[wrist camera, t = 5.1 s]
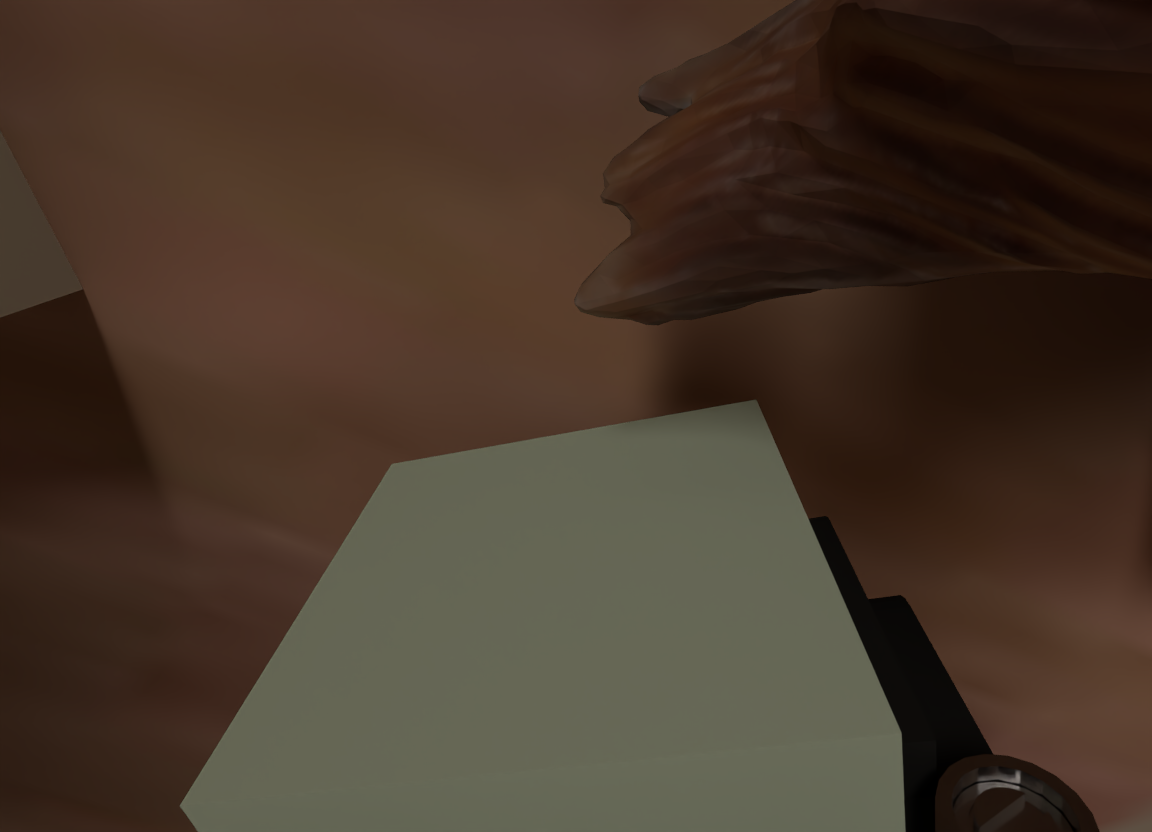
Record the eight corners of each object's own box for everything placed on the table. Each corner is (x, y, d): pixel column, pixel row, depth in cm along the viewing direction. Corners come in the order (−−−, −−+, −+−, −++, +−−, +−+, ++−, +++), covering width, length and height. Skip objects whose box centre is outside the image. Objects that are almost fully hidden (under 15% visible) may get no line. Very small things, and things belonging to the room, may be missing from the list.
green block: (391, 464, 11) (179, 804, 6) (755, 399, 10) (901, 732, 5) (490, 717, 14) (404, 1122, 8) (792, 682, 13) (915, 1112, 7)
